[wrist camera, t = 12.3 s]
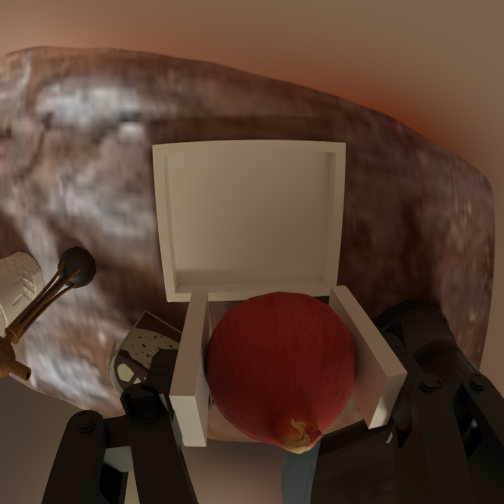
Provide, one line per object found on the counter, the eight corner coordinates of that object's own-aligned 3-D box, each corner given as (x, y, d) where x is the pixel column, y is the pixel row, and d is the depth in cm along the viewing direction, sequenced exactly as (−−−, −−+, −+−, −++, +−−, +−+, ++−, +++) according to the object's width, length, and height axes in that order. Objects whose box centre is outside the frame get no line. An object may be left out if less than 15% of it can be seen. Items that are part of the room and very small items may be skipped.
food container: (114, 333, 36) (89, 385, 27) (134, 302, 34) (108, 353, 25) (192, 379, 39) (186, 436, 30) (218, 353, 38) (216, 411, 28)
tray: (335, 142, 30) (345, 142, 27) (327, 283, 35) (335, 295, 32) (159, 144, 29) (152, 145, 26) (171, 289, 34) (167, 301, 31)
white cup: (7, 237, 30) (-40, 266, 21) (50, 260, 32) (6, 298, 23) (4, 286, 33) (-35, 321, 23) (45, 309, 34) (9, 351, 25)
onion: (311, 363, 16) (351, 485, 9) (206, 357, 15) (197, 491, 8) (339, 268, 14) (425, 380, 7) (216, 254, 14) (202, 383, 6)
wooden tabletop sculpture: (106, 257, 32) (12, 371, 14) (101, 291, 34) (21, 411, 15) (64, 241, 31) (-46, 333, 12) (61, 275, 33) (-33, 376, 14)
